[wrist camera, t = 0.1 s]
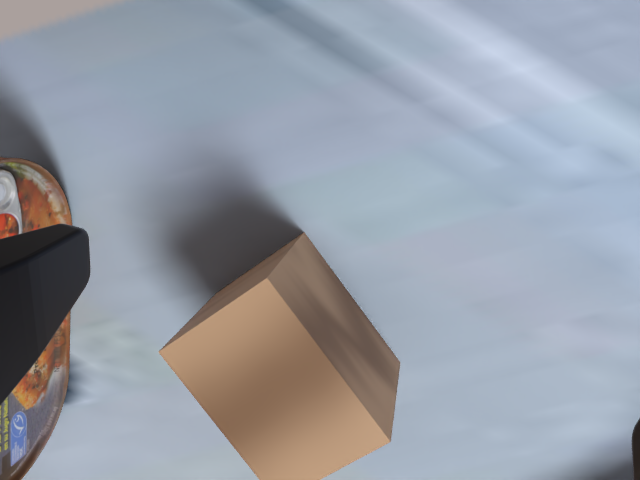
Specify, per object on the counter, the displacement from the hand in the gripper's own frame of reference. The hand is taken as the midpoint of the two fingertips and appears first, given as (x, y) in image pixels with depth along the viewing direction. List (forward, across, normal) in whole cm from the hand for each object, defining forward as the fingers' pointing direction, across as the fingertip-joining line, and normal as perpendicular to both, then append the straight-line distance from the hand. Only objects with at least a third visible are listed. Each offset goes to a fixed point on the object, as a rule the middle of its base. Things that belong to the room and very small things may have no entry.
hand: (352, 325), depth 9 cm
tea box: (+13, +2, +11) cm, 17 cm away
